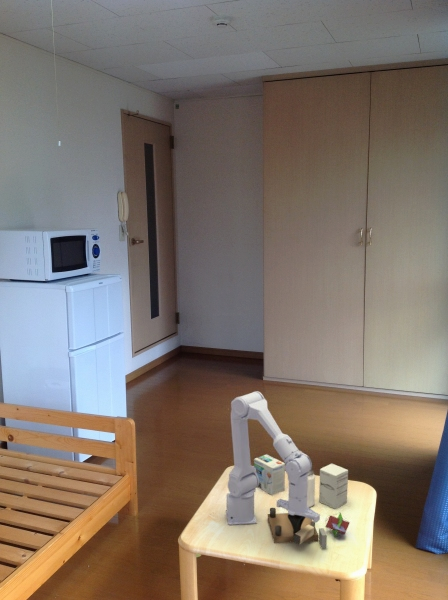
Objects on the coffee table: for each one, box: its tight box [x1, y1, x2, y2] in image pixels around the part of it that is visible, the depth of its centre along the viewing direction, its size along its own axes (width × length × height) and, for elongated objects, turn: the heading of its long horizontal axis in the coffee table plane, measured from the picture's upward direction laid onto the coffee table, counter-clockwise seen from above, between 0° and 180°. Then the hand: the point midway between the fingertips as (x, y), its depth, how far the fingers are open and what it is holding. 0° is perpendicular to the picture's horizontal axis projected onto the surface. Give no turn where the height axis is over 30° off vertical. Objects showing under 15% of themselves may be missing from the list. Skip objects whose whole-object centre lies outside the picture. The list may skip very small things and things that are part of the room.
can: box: [307, 469, 316, 508], centre depth 199 cm, size 6×6×12 cm
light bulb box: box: [253, 453, 286, 496], centre depth 211 cm, size 11×7×11 cm, turn 37°
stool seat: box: [267, 507, 319, 544], centre depth 183 cm, size 14×14×4 cm
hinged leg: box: [292, 520, 316, 546], centre depth 175 cm, size 10×2×3 cm, turn 136°
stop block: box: [318, 527, 328, 550], centre depth 174 cm, size 1×4×5 cm, turn 4°
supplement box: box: [318, 463, 349, 510], centre depth 200 cm, size 7×7×13 cm
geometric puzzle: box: [324, 512, 351, 538], centre depth 180 cm, size 7×7×8 cm
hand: (297, 535), depth 174 cm, fingers closed, pressing on hinged leg
